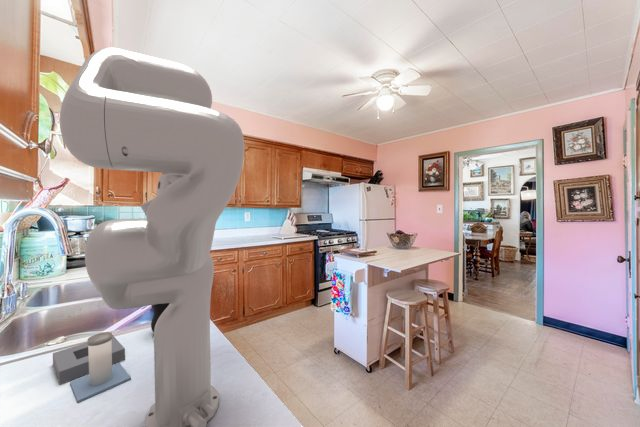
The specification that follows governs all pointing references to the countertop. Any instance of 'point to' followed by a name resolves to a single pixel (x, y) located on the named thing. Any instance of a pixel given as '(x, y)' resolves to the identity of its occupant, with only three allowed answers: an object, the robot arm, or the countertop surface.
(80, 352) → the socket block
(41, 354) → the countertop surface
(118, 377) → the mat
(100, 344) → the plug
